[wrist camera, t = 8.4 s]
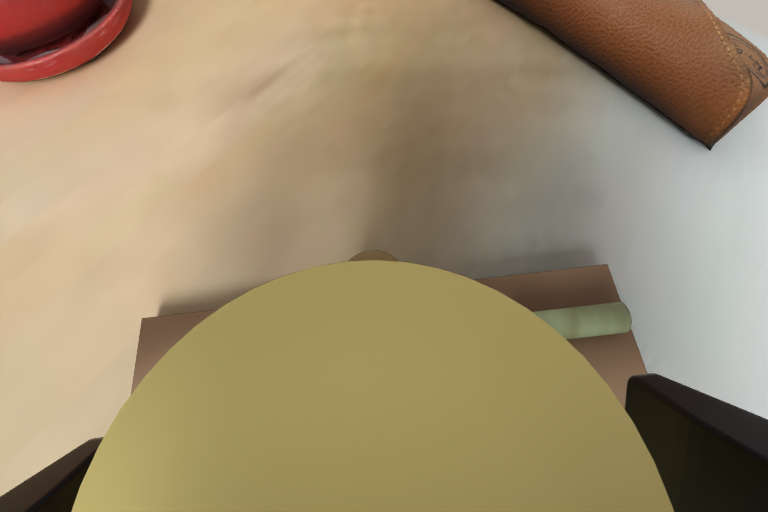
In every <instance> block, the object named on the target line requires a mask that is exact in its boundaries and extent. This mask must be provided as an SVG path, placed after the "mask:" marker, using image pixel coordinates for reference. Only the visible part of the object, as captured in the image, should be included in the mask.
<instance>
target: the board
mask: <svg viewBox="0 0 768 512" xmlns="http://www.w3.org/2000/svg"><path fill="white" fill-rule="evenodd" d="M368 260H381V261H396V262H398V261H397V260H396V259H395V258H394V257H393V256H391V255H390V254H387V253H385V252H382V251H374V250H373V251H365V252H362V253H359V254H357V255H355V256H354V257H353V258H351V259H350V260H349V261H368ZM349 261H348V262H349ZM474 281H477V282H479V283H481V284H483V285H486V286H488V287H490V288H492V289H495V290H497V291H499V292H500V293H502V294H504V295H505V296H507V297H509V298H511V299H512V300H514V301H516V302H517V303H519V304H521V305H522V306H524V307H526V308H527V309H529V310H530V311H531V312H533V313H534V314H535V315H537V316H538V317H539V318H541V319H542V320H543V321H545V322H546V323H547V324H549V325H550V326H551V327H552V328H554V329H555V330H556V331H557V332H558V333H560V334H561V335H562V336H563V337H564V338H565V339H566V340H567V341H568V342H569V343H570V344H571V345H572V346H573V347H574V348H575V349H576V350H577V351H578V352H580V353H581V354H582V355H583V356H584V357H585V359H586V360H587V361H588V362H589V363H590V365H591V366H592V367H593V368H594V369H595V370H596V372H597V373H598V374H599V375H600V376H601V378H602V379H603V380H604V381H605V382H606V383H607V385H608V386H609V387H610V389H611V390H612V391H613V393H614V394H615V396H616V397H617V399H618V400H619V402H620V403H621V405H622V406H623V408H624V409H625V400H626V390H627V382H628V379H629V378H630V377H631V376H633V375H640V374H648V373H647V371H646V368H645V365H644V363H643V360H642V357H641V355H640V352H639V349H638V346H637V344H636V341H635V338H634V336H633V333H632V330H631V323H632V321H631V315H630V312H629V310H628V308H627V306H626V305H625V304H624V303H622V302H621V300H620V298H619V295H618V292H617V289H616V287H615V284H614V281H613V279H612V276H611V273H610V270H609V268H608V265H607V264H605V265H596V266H588V267H579V268H570V269H562V270H553V271H545V272H536V273H528V274H519V275H510V276H502V277H493V278H485V279H476V280H474ZM216 311H217V310H209V311H201V312H192V313H184V314H175V315H167V316H158V317H149V318H142V322H141V329H140V336H139V343H138V350H137V356H136V363H135V370H134V377H133V384H132V391H131V395H132V393H133V392H134V390H135V389H136V388H137V386H138V385H139V384H140V382H141V381H142V380H143V378H144V377H145V376H146V375H147V374H148V373H149V371H150V370H151V369H152V368H153V367H154V366H155V365H156V364H157V363H158V362H159V360H160V359H161V358H162V357H163V356H164V355H165V354H166V353H167V352H168V350H169V349H171V348H172V347H173V346H174V345H175V344H176V343H177V342H178V341H179V340H181V339H182V338H183V337H184V336H185V335H186V334H187V333H188V332H189V331H191V330H192V329H193V328H194V327H195V326H196V325H198V324H199V323H200V322H202V321H203V320H205V319H206V318H207V317H209V316H210V315H211V314H213V313H214V312H216Z"/></svg>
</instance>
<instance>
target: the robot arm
mask: <svg viewBox="0 0 768 512" xmlns="http://www.w3.org/2000/svg"><path fill="white" fill-rule="evenodd" d="M625 411H626V412H627V414H628V415H629V417H630V418H631V420H632V421H633V423H634V425H635V426H636V428H637V430H638V432H639V434H640V436H641V438H642V440H643V441H644V443H645V445H646V447H647V449H648V451H649V453H650V455H651V456H652V458H653V460H654V462H655V465H656V467H657V470H658V472H659V475H660V477H661V479H662V482H663V484H664V487H665V489H666V492H667V494H668V497H669V499H670V502H671V504H672V507H673V510H674V512H768V420H767V419H765V418H763V417H760V416H758V415H755V414H753V413H750V412H748V411H746V410H743V409H741V408H738V407H736V406H733V405H731V404H729V403H726V402H724V401H721V400H719V399H716V398H714V397H712V396H709V395H707V394H704V393H702V392H699V391H697V390H695V389H692V388H690V387H687V386H685V385H682V384H680V383H677V382H675V381H673V380H670V379H668V378H665V377H663V376H660V375H658V374H654V373H649V374H640V375H633V376H631V377H630V378H629V379H628V382H627V390H626V400H625ZM103 438H104V437H101V438H94V439H91V440H88V441H87V442H85V443H84V444H82V445H80V446H79V447H77V448H76V449H74V450H73V451H71V452H70V453H68V454H66V455H65V456H63V457H62V458H60V459H59V460H57V461H55V462H54V463H52V464H51V465H49V466H48V467H46V468H45V469H43V470H41V471H40V472H38V473H37V474H35V475H34V476H32V477H30V478H29V479H27V480H26V481H24V482H23V483H21V484H20V485H18V486H16V487H15V488H13V489H12V490H10V491H9V492H7V493H5V494H4V495H2V496H1V497H0V512H71V511H72V508H73V505H74V502H75V500H76V497H77V494H78V491H79V488H80V486H81V483H82V481H83V479H84V477H85V475H86V473H87V470H88V468H89V466H90V464H91V462H92V460H93V458H94V455H95V453H96V451H97V449H98V447H99V445H100V443H101V442H102V440H103Z"/></svg>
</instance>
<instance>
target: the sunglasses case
mask: <svg viewBox="0 0 768 512" xmlns="http://www.w3.org/2000/svg"><path fill="white" fill-rule="evenodd" d="M497 1H499V2H501V3H503V4H505V5H507V6H508V7H509V8H511V9H512V10H514V11H516V12H520V13H521V14H523V15H524V16H525V17H526V18H527V19H529V20H531V21H533V22H535V23H537V24H539V25H541V26H543V27H545V28H546V29H548V30H549V31H550V32H551V33H552V34H553V35H554V36H556V37H557V38H559V39H560V40H562V41H563V42H564V43H566V44H567V45H568V46H569V47H571V48H572V49H573V50H575V51H576V52H578V53H579V54H581V55H582V56H584V57H585V58H587V59H588V60H590V61H591V62H593V63H595V64H596V65H598V66H599V67H601V68H602V69H604V70H605V71H606V72H607V73H609V74H610V75H611V76H612V77H613V78H615V79H616V80H617V81H619V82H620V83H621V84H623V85H624V86H626V87H627V88H628V89H630V90H631V91H633V92H634V93H636V94H637V95H639V96H640V97H641V98H643V99H644V100H646V101H647V102H648V103H650V104H651V105H653V106H654V107H655V108H657V109H658V110H659V111H661V112H662V113H663V114H665V115H666V116H667V117H669V118H670V119H671V120H673V121H674V122H676V123H677V124H679V125H680V126H681V127H683V128H684V129H685V130H687V131H688V132H689V133H690V134H691V135H693V136H694V137H695V138H696V139H698V140H700V141H702V142H704V143H706V144H707V147H708V148H709V149H710V150H711V149H712V147H713V146H714V144H715V143H716V142H718V141H719V140H720V139H721V138H722V137H724V135H726V134H727V133H728V132H729V131H730V130H731V129H732V128H733V127H734V126H736V125H737V124H738V123H739V122H740V121H741V120H742V119H744V118H745V117H746V116H747V115H748V114H749V113H751V112H752V111H753V110H754V109H755V108H756V107H757V106H759V105H760V104H761V103H762V102H763V101H764V100H765V99H766V98H767V97H768V58H767V57H766V55H765V54H764V53H763V52H761V50H759V49H758V48H757V47H756V46H754V45H753V44H752V43H751V42H750V41H748V40H747V39H746V38H744V37H743V36H742V35H741V34H739V33H738V32H736V31H735V30H734V29H733V28H731V27H730V26H729V25H727V24H726V23H724V22H723V21H721V20H720V19H719V18H717V17H716V16H715V15H714V14H713V12H712V11H711V10H710V9H709V8H708V7H707V6H706V5H705V3H703V1H702V0H497Z"/></svg>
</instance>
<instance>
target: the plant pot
mask: <svg viewBox="0 0 768 512" xmlns="http://www.w3.org/2000/svg"><path fill="white" fill-rule="evenodd" d="M131 6H132V0H0V81H9V82H19V81H32V80H38V79H44V78H48V77H52V76H55V75H58V74H61V73H64V72H67V71H69V70H71V69H74V68H76V67H78V66H80V65H81V64H83V63H85V62H87V61H93V60H95V59H96V58H97V57H98V55H99V53H100V52H101V51H102V50H104V49H105V48H106V47H107V46H108V45H109V44H110V43H111V42H112V41H113V40H114V39H115V38H116V37H117V36H118V34H119V33H120V32H121V30H122V29H123V27H124V25H125V24H126V22H127V19H128V16H129V14H130V10H131Z"/></svg>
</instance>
